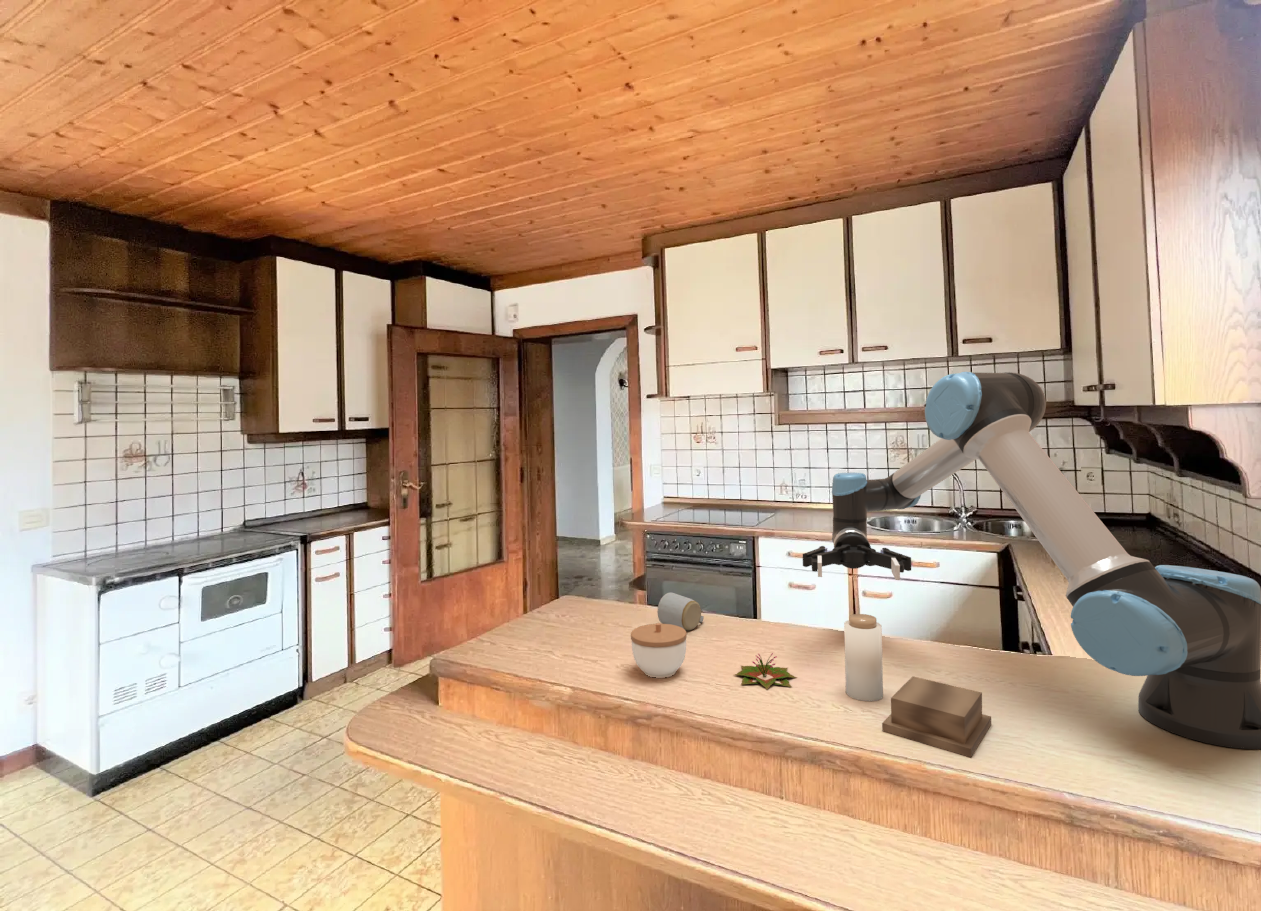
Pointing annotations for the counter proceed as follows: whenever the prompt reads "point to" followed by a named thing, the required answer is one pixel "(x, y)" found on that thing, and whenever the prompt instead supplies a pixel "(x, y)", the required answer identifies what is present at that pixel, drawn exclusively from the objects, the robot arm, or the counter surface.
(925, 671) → the counter surface
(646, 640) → the lidded jar
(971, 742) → the pedestal
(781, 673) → the lily flower
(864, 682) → the canister
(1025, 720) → the counter surface
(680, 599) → the ceramic mug
